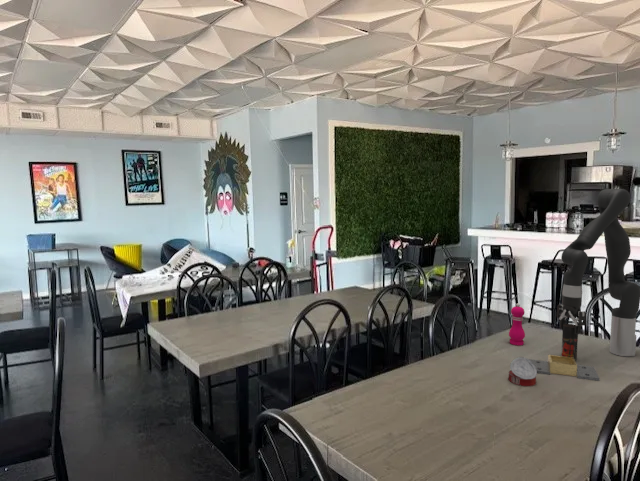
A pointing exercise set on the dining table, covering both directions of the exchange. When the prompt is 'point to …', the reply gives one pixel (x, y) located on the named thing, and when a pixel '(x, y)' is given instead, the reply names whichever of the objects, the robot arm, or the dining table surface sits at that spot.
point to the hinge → (565, 367)
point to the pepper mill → (517, 326)
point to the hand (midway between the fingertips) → (569, 331)
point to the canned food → (522, 372)
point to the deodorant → (569, 341)
